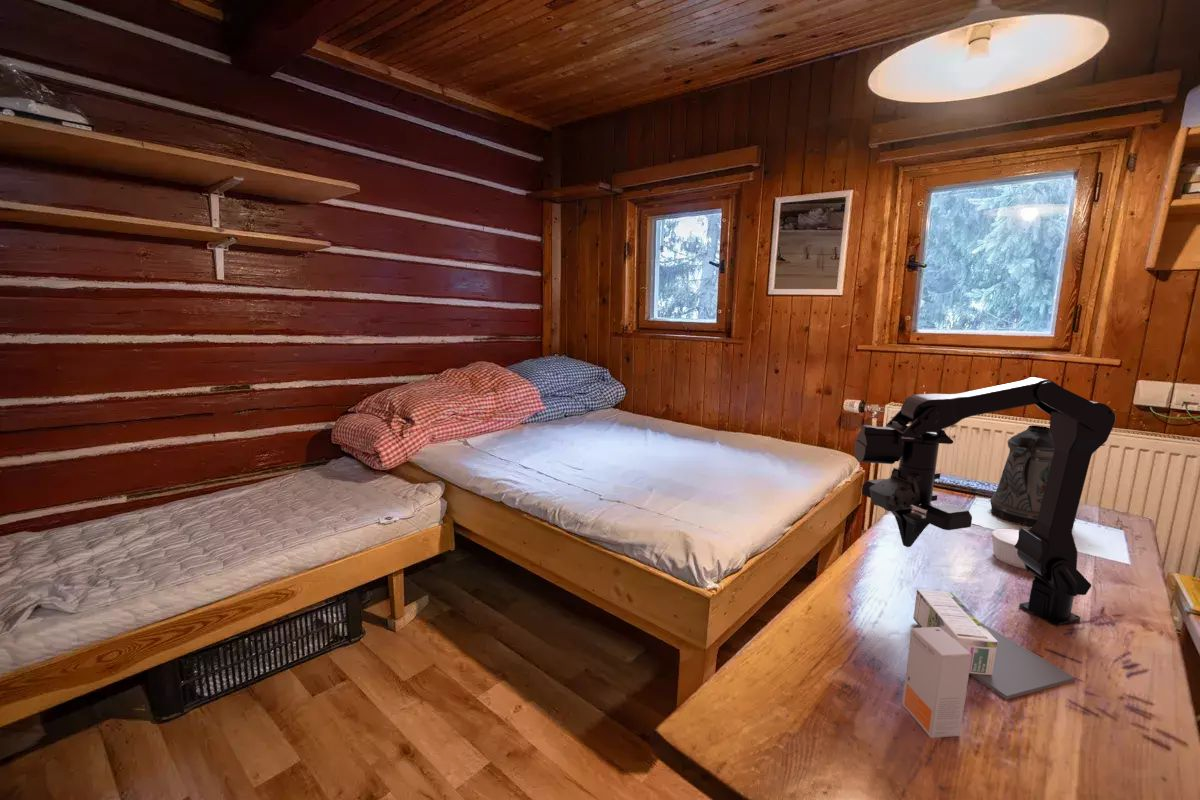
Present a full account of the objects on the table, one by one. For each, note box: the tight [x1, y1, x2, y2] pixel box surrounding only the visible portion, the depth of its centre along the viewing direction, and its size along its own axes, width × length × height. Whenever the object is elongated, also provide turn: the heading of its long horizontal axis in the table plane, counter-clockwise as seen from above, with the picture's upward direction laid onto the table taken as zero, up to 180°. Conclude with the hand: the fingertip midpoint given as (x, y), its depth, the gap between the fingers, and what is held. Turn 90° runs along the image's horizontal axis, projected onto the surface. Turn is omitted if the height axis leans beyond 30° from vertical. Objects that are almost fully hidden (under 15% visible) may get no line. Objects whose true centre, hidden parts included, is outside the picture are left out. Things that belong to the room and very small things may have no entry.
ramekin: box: [991, 528, 1026, 570], centre depth 118 cm, size 11×11×5 cm
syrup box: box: [913, 589, 998, 675], centre depth 87 cm, size 6×6×14 cm
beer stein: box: [990, 424, 1055, 528], centre depth 141 cm, size 16×19×25 cm
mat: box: [969, 621, 1076, 701], centre depth 85 cm, size 14×16×1 cm
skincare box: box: [901, 627, 972, 739], centre depth 71 cm, size 6×4×12 cm
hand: (907, 546), depth 99 cm, fingers closed
